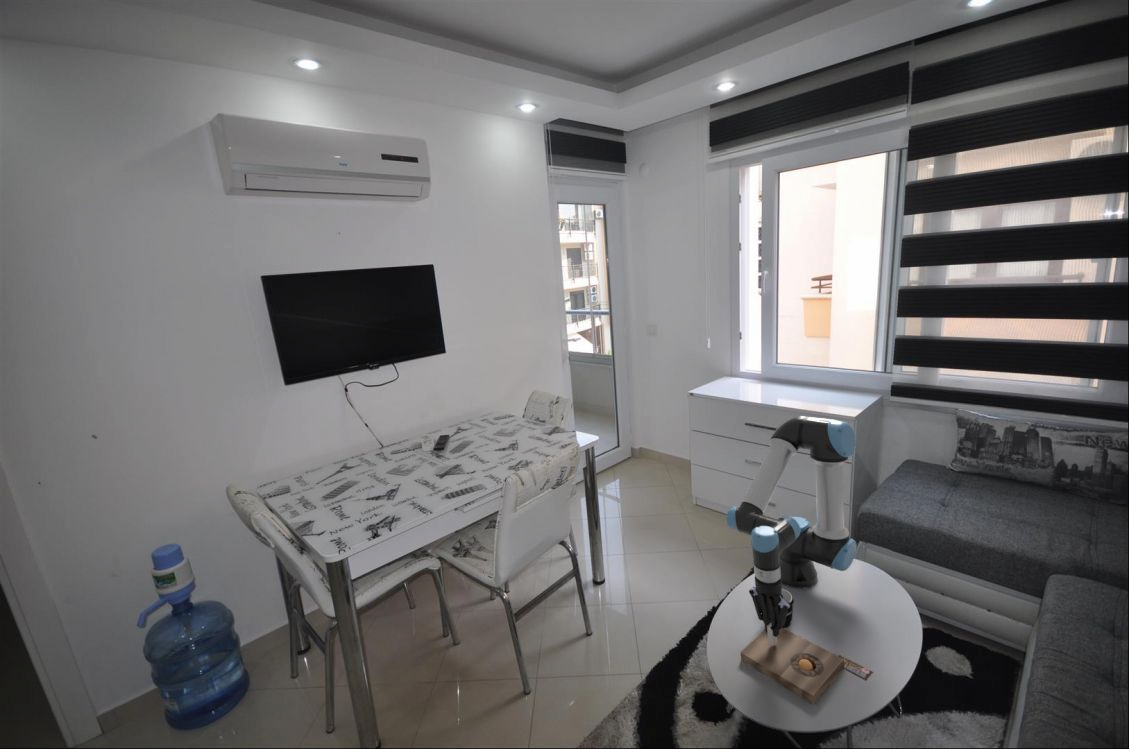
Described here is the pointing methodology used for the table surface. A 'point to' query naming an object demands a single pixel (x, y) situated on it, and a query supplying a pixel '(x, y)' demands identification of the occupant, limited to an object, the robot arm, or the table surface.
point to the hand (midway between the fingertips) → (772, 642)
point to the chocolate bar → (856, 669)
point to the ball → (805, 665)
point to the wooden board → (793, 663)
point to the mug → (790, 599)
